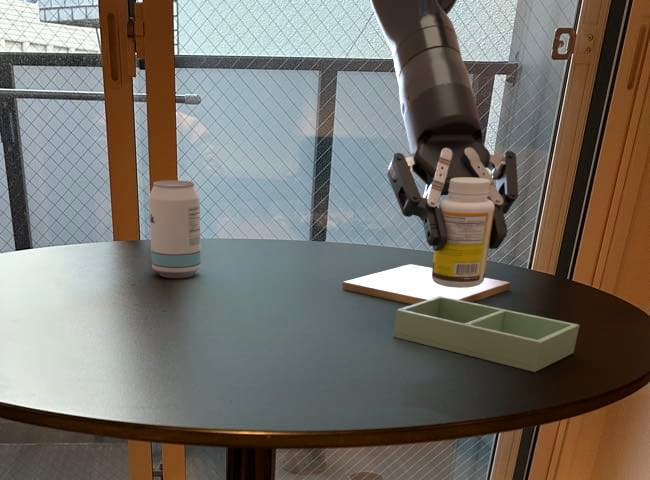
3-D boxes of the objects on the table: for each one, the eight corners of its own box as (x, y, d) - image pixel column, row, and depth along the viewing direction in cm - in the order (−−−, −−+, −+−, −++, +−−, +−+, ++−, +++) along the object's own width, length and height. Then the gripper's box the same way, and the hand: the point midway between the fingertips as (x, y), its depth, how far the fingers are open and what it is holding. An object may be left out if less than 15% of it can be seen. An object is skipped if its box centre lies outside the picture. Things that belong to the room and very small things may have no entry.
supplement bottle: (450, 274, 90) (463, 174, 84) (493, 283, 86) (509, 179, 81) (419, 282, 86) (431, 179, 81) (463, 292, 83) (477, 184, 78)
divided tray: (435, 321, 94) (439, 295, 93) (573, 353, 84) (579, 324, 83) (393, 336, 89) (396, 309, 87) (534, 372, 79) (540, 342, 77)
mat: (409, 271, 118) (410, 264, 117) (509, 289, 108) (510, 282, 108) (342, 289, 108) (342, 281, 107) (445, 311, 98) (446, 303, 98)
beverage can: (156, 268, 118) (152, 179, 112) (203, 269, 117) (201, 180, 111) (148, 279, 112) (144, 186, 106) (198, 280, 111) (196, 186, 105)
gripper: (385, 80, 82) (415, 225, 78) (516, 80, 84) (552, 220, 80) (364, 134, 89) (391, 269, 85) (485, 132, 91) (517, 263, 87)
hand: (469, 244), depth 83 cm, fingers closed on supplement bottle, 5 cm apart
